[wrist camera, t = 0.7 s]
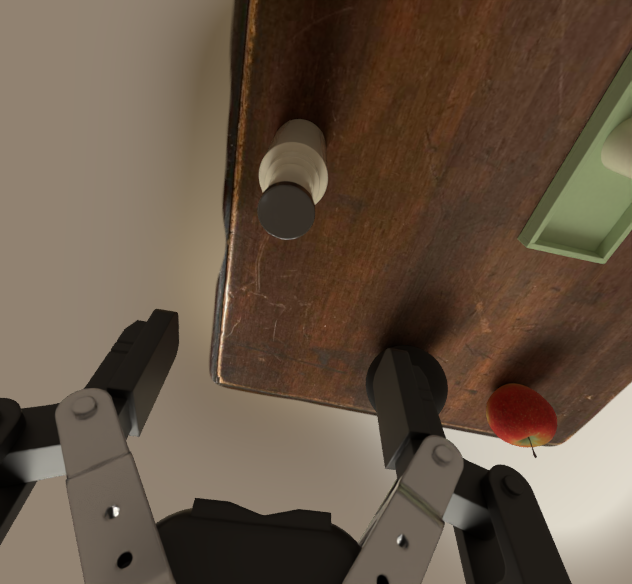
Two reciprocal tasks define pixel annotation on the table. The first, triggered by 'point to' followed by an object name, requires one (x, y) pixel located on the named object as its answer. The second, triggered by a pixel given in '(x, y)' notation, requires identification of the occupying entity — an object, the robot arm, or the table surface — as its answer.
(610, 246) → the tray
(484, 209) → the table surface
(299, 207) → the bottle
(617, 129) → the bottle
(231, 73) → the table surface
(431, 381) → the black ball
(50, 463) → the robot arm
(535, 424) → the apple
